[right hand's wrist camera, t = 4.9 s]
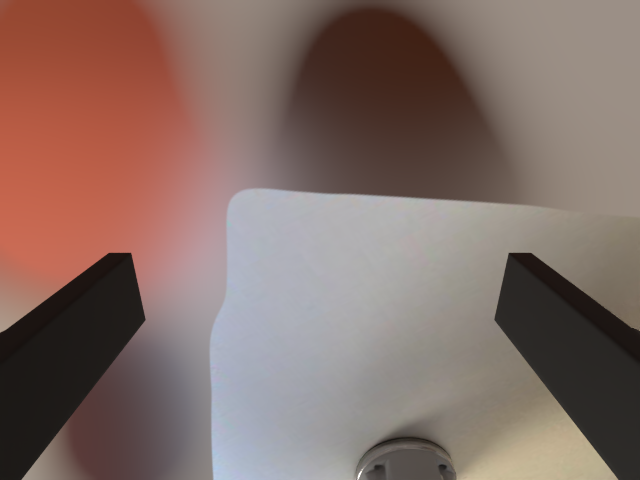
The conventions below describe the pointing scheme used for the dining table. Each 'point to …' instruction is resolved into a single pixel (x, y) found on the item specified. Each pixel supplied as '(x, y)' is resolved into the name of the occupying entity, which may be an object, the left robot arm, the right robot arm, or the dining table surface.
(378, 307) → the dining table surface
